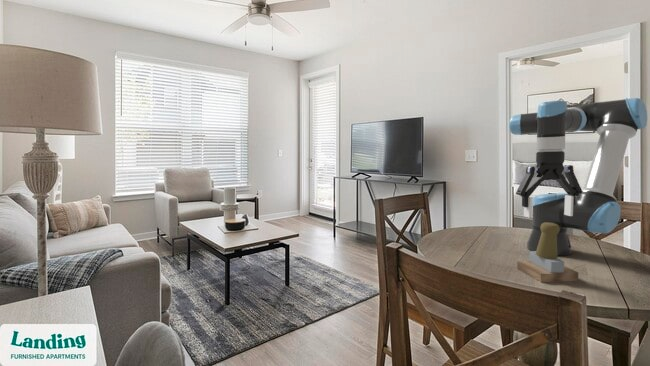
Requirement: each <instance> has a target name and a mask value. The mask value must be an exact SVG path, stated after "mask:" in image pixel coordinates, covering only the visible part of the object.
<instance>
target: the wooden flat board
mask: <svg viewBox="0 0 650 366" xmlns="http://www.w3.org/2000/svg"><path fill="white" fill-rule="evenodd" d="M516 266H517V267H516V269H517V270H518V271H520V272H522V273H524V274H525V275H527V276H529V277H530V278H533V279H534V280H535V281H538V282H539V281H540V283H555V282H556V283H557V282H559V281H562V282H578V281H579V271H577V270H574V269H572V268H570V267H567V266H566V265H564V273H551V272H549V271H547V270H545V269H543V268H541V267H539V266H538V265H536V264H534V263H532V262H530V261H529V260H517V263H516ZM559 283H560V282H559Z"/></svg>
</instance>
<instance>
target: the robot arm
mask: <svg viewBox="0 0 650 366" xmlns="http://www.w3.org/2000/svg"><path fill="white" fill-rule="evenodd" d="M508 123H509V125H508V128H509V131H510V133H511V134H512V135H514V136H517V135H518V136H519V135H520V136H524V135H536V150H537V152H536V153H535V162H536V167H535V166H526V169H525V174H524V176H523V177H522V180H521V182H520V184H519V186H518V188H517V190H516V192H515V195H517V196H520V197H521V206H522V207H523V217H524V218H528V219H530V218H531V219H532V228H531V229H532V230H531V232H530V235H529V237H528V240H527V242H526V249H528V250H529V251H536V250H537V247H538V244H539V240H540V237H541V233H542V231H541V229H540V227H541V224H542V223H545V222H549V223H554V224H557V225H558V226H559V228H560V231H559V233H558V234H557V256H569V255H571V254H572V251H573V250H572V249H573V247H572V244H571V240H570V239H569V236H568V229H572V230H577V231H584V232H590V233H592V234H594V233H596V234H609V233H611V232H612V231H613V230H614V229H615V228H616V227H617V225H618V223H619V222H620V219H621V211H622V208H621V205H620V203H618V202H617V201H618V200H617V198H616V197H615V196H614V195H613V194H614V193H615V192H614V191H615V188H616V184H617V181H618V177H619V174H620V170H621V168H622V165H623V161H624V157H625V154H626V150H627V147H628V144H629V140H630V139H632V138H634V137H635V136H636V134H637V132H638V130H642V129H643V130H644V129H645V128H646V127H647V125H648V111H647V106H646V103H645V102H644V100H642V98H638V97H633V98H628V97H627V98H623V99H617V100H616V99H615V100H608V101H598V102H596V101H595V102H592V103H591V102H590V103H586V104H582V105H578V106H573V107H568V106H567V102H566V101H565V100H551V101H543V102H541V103H539V104H538V106H537V112H529V113H520V114H514V115H512V116H511V118H510V119H509V122H508ZM574 132H575V133H576V132H596V134H597V135H599V138H598V140H597V144H596V148H595V151H594V155H593V156H592V157H593V158H592V161H591V163H590V167H589V169H588V170H589V171H588V174H587V177H586V180H585V184H584V186H583V189H582V187H581V185H580V184H579V183H580V182H579V180H578V179H577V178H578V177H576V174H575V172H574V166H573V164H572V165H571V164H564V163H565V154H566V153H565V151H564V150H565V149H566V133H574ZM563 173H564V174H563ZM535 174H536V175H535ZM551 180H553V181H555V182H557V183H558V184H559V186H560V187H561V188H562V189H563V191H565V193H561V192H559V193H543V194H537V195H535V196H534V197H531V196H532V195H533V193H534V192H535V190H536V189H537V188H538V187H540V184H541V183H542V182H544V181H551ZM532 198H533V199H532Z"/></svg>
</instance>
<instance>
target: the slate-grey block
mask: <svg viewBox="0 0 650 366" xmlns="http://www.w3.org/2000/svg"><path fill="white" fill-rule="evenodd" d="M528 261H530V262H532V263H534V264H536V265H538V266H539V267H541V268H543V269H545V270H547V271H549V272H551V273H564V266H565V261H564V260H562V259H559V258H557V259H547V258H542V257H539V256H537V255H536V251H531V250H529V260H528Z"/></svg>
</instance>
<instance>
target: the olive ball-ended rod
mask: <svg viewBox="0 0 650 366" xmlns="http://www.w3.org/2000/svg"><path fill="white" fill-rule="evenodd" d="M540 229H541V231H542V233H541V237H540V240H539V244H538V247H537V250H536V255H537V256H539V257H542V258H547V259H558V255H557V234H558V233H559V231H560V228H559V226H558V225H557V224H554V223H549V222H545V223H542V224H541V227H540Z"/></svg>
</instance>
